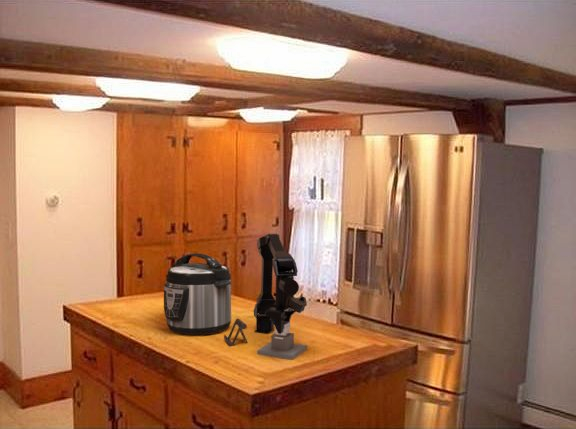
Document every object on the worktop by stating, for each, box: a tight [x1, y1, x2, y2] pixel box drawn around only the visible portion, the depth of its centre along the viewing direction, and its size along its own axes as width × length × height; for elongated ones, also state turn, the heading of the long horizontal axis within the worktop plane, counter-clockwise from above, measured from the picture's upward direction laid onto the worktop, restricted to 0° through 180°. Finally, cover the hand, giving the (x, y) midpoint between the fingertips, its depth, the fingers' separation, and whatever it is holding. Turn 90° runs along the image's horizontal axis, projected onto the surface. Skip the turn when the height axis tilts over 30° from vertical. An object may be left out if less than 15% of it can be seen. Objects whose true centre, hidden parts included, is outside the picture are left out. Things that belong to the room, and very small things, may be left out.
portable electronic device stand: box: [223, 318, 248, 347], centre depth 228 cm, size 9×8×8 cm
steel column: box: [275, 321, 291, 337], centre depth 217 cm, size 4×4×9 cm
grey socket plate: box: [256, 332, 308, 361], centre depth 217 cm, size 14×14×6 cm
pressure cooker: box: [163, 252, 232, 336], centre depth 246 cm, size 30×28×32 cm
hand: (282, 331), depth 217 cm, fingers open, 5 cm apart
